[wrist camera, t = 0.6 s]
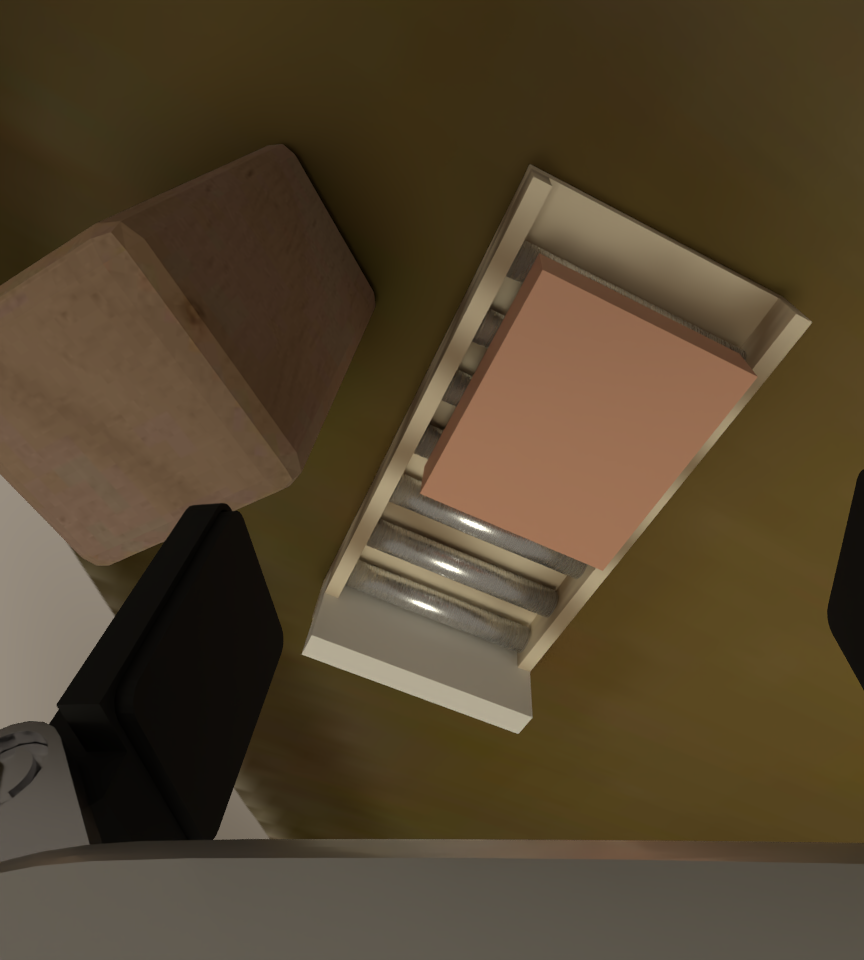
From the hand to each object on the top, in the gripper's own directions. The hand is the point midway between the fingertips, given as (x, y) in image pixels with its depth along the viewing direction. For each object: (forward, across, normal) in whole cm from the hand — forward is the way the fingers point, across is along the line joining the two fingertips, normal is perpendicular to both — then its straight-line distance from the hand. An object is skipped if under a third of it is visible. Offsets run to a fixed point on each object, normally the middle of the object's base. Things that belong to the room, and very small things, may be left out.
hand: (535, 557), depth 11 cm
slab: (+27, -3, +12) cm, 29 cm away
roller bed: (+30, +1, +17) cm, 34 cm away
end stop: (+29, +8, +29) cm, 41 cm away
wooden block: (+30, +14, +2) cm, 34 cm away
